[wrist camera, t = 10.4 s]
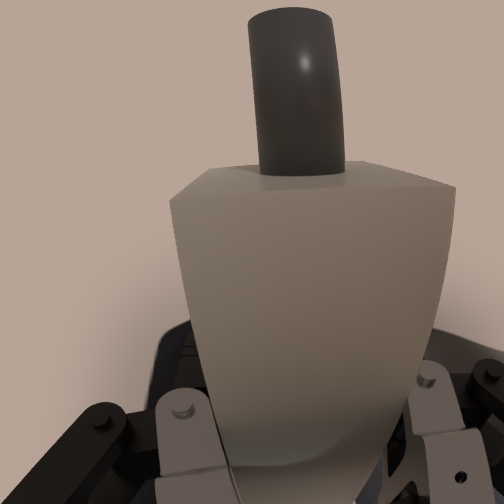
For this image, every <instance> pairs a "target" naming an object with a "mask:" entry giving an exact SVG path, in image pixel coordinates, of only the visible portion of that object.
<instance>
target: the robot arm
mask: <svg viewBox="0 0 504 504" xmlns="http://www.w3.org/2000/svg"><path fill="white" fill-rule="evenodd" d="M491 414H494V415H495V416H496V417H497V418H498V419H500V420H501V421H502V422H503V423H504V364H503V363H501V362H499V361H497V360H494V359H483V360H480V361H479V362H477V363H476V364H475V366H474V368H473V370H472V372H471V373H466V374H449V373H448V371H447V370H446V369H445V368H444V367H443V366H442V365H441V364H439V363H437V362H434V361H430V360H425V359H424V358H423V360H422V363H421V365H420V368H419V371H418V374H417V377H416V379H415V382H414V385H413V387H412V390H411V392H410V395H409V397H408V398H407V400H406V403H405V405H404V408H403V412H402V414H401V416H400V418H399V421H398V423H397V425H396V427H395V429H394V431H393V433H392V436H391V438H390V440H389V442H388V443H387V444H386V446H385V448H384V450H383V483H382V488H381V491H380V494H379V498H378V504H495V498H494V492H493V487H494V488H495V489H496V490H497V491H498V492H500V493H501V494H502V495H503V496H504V435H503V434H502V433H500V432H499V431H498V430H497V429H496V428H495V427H493V426H492V425H491V424H490V423H489V422H488V421H487V420H488V418H489V417H490V416H491ZM154 482H155V493H156V500H157V504H241V502H240V499H239V496H238V493H237V490H236V487H235V484H234V481H233V478H232V475H231V471H230V468H229V465H228V461H227V458H226V455H225V449H224V445H223V442H222V439H221V436H220V432H219V429H218V425H217V422H216V419H215V415H214V412H213V408H212V404H211V401H210V397H209V393H208V390H207V386H206V382H205V378H204V374H203V370H202V366H201V362H200V358H199V354H198V350H197V345H196V341H195V337H194V332H193V329H192V330H191V331H190V332H189V333H188V334H187V335H186V338H185V342H184V348H183V349H182V353H181V357H180V361H179V364H178V368H177V372H176V376H175V380H174V384H173V388H172V391H170V392H168V393H166V394H165V395H163V396H162V397H161V398H160V400H159V401H158V403H157V405H156V407H155V408H152V409H149V410H145V411H140V412H135V413H128V414H125V412H124V410H123V409H122V408H121V407H120V406H118V405H117V404H114V403H110V402H101V403H97V404H95V405H92V406H90V407H89V408H87V409H86V410H85V411H84V412H83V413H82V414H81V415H80V416H79V417H78V418H77V420H76V421H75V422H74V423H73V424H72V425H71V426H70V427H69V428H68V429H67V430H66V432H65V433H64V434H63V435H62V436H61V437H60V438H59V439H58V440H57V442H56V443H55V444H54V445H53V446H52V447H51V448H50V449H49V450H48V451H47V453H46V454H45V455H44V456H43V457H42V458H41V459H40V460H39V461H38V463H37V464H36V465H35V466H34V467H33V468H32V469H31V470H30V472H29V473H28V474H27V475H26V476H25V477H24V478H23V479H22V481H21V482H20V483H19V484H18V485H17V486H16V488H15V489H14V490H13V491H12V492H11V493H10V494H9V496H7V498H6V499H5V500H4V501H3V502H2V503H1V504H141V502H142V501H143V499H144V498H145V496H146V495H147V493H148V492H149V490H150V488H151V487H152V485H153V484H154Z"/></svg>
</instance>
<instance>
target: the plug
mask: <svg viewBox="0 0 504 504" xmlns="http://www.w3.org/2000/svg"><path fill="white" fill-rule="evenodd" d="M248 34H249V43H250V56H251V67H252V78H253V90H254V103H255V115H256V126H257V140H258V153H259V165H247V166H235V167H225V168H215V169H209V170H207V171H206V172H205V173H203V174H202V175H201V176H199V177H198V178H197V179H196V180H194V181H193V182H192V183H190V184H189V185H188V186H187V187H186V188H184V189H183V190H182V191H180V192H179V193H178V194H177V195H176V196H175V197H173V198H172V199H171V200H170V208H171V215H172V221H173V228H174V234H175V240H176V246H177V252H178V258H179V263H180V269H181V274H182V279H183V284H184V290H185V294H186V300H187V304H188V309H189V314H190V319H191V323H192V328H193V332H194V337H195V341H196V345H197V350H198V354H199V358H200V362H201V366H202V370H203V374H204V378H205V382H206V386H207V390H208V393H209V397H210V401H211V404H212V408H213V412H214V415H215V419H216V422H217V425H218V429H219V432H220V436H221V439H222V442H223V445H224V449H225V452H226V455H227V458H228V461H229V464H230V467H231V470H232V473H233V476H234V479H235V482H236V485H237V488H238V491H239V494H240V496H241V499H242V502H243V504H353V502H354V501H355V499H356V498H357V496H358V495H359V493H360V491H361V490H362V488H363V487H364V485H365V483H366V482H367V480H368V478H369V477H370V475H371V473H372V471H373V470H374V468H375V466H376V464H377V463H378V461H379V459H380V457H381V455H382V453H383V450H384V448H385V446H386V444H387V443H388V442H389V440H390V438H391V436H392V433H393V431H394V429H395V427H396V425H397V423H398V421H399V418H400V416H401V414H402V412H403V408H404V405H405V403H406V400H407V398H408V397H409V395H410V392H411V390H412V387H413V385H414V382H415V379H416V377H417V374H418V371H419V368H420V365H421V363H422V360H423V357H424V354H425V350H426V347H427V344H428V341H429V337H430V334H431V331H432V327H433V323H434V319H435V316H436V312H437V308H438V304H439V300H440V295H441V291H442V286H443V282H444V277H445V271H446V265H447V260H448V254H449V248H450V241H451V234H452V225H453V216H454V206H455V193H456V188H455V187H453V186H450V185H447V184H444V183H441V182H438V181H434V180H431V179H428V178H425V177H421V176H418V175H414V174H411V173H407V172H404V171H400V170H396V169H392V168H388V167H384V166H381V165H376V164H372V163H368V162H364V161H345V152H344V130H343V114H342V102H341V101H342V100H341V89H340V78H339V69H338V60H337V53H336V44H335V37H334V30H333V24H332V19H331V18H330V17H329V16H328V15H327V14H325V13H323V12H321V11H318V10H314V9H309V8H300V7H287V8H278V9H272V10H268V11H265V12H262V13H259V14H257V15H256V16H254V17H252V18H251V19H250V20H249V22H248Z"/></svg>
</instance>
